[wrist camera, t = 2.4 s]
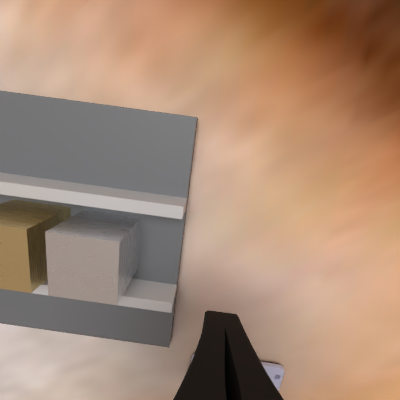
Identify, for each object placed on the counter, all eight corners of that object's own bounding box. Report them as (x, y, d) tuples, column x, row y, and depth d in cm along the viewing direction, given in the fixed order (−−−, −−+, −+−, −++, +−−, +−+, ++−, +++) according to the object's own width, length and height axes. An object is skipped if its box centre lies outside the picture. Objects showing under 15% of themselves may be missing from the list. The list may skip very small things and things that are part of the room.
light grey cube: (138, 267, 17) (117, 305, 13) (84, 259, 17) (48, 295, 13) (141, 217, 16) (119, 242, 12) (84, 209, 16) (45, 231, 12)
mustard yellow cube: (71, 258, 17) (31, 293, 13) (18, 250, 17) (-37, 283, 13) (70, 207, 16) (26, 229, 12) (14, 199, 16) (-48, 218, 12)
